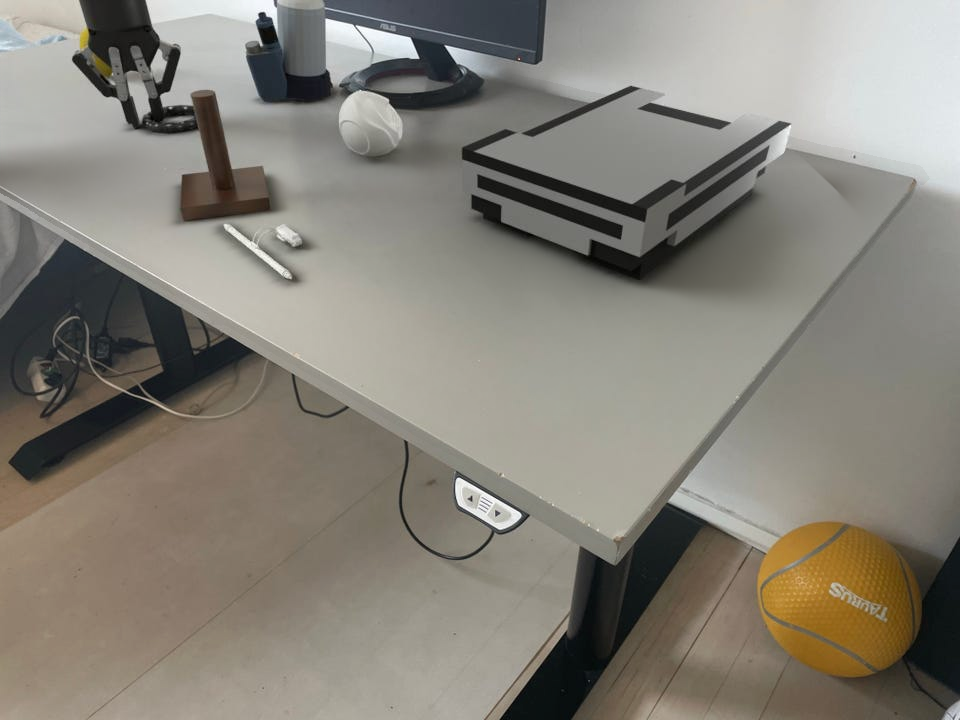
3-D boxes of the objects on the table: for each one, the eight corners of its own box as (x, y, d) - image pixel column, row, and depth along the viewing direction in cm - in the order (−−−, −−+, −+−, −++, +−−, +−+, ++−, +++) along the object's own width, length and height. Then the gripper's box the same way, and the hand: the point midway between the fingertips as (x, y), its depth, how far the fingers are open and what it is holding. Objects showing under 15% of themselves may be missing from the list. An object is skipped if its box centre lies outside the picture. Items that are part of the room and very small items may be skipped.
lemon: (119, 70, 118) (104, 18, 113) (131, 78, 115) (116, 24, 110) (84, 76, 115) (67, 23, 110) (95, 84, 112) (78, 30, 107)
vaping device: (294, 98, 106) (270, 16, 97) (259, 103, 106) (231, 21, 97) (295, 89, 108) (271, 8, 98) (260, 94, 107) (233, 13, 98)
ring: (141, 136, 95) (139, 127, 94) (145, 115, 101) (143, 107, 100) (208, 130, 97) (206, 121, 96) (207, 110, 103) (205, 101, 102)
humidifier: (341, 90, 111) (341, -99, 96) (312, 104, 105) (307, -96, 89) (295, 78, 113) (289, -110, 97) (264, 91, 106) (252, -107, 91)
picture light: (221, 228, 74) (217, 210, 73) (260, 216, 76) (256, 198, 75) (288, 283, 66) (284, 262, 64) (329, 267, 68) (326, 247, 67)
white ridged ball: (398, 167, 87) (393, 103, 82) (336, 166, 87) (328, 101, 82) (407, 143, 93) (403, 82, 88) (349, 141, 93) (343, 81, 89)
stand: (183, 221, 75) (153, 111, 68) (184, 186, 82) (158, 84, 75) (270, 210, 78) (250, 103, 70) (265, 177, 84) (246, 76, 77)
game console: (775, 182, 84) (795, 112, 79) (633, 292, 65) (647, 209, 60) (623, 139, 95) (631, 75, 90) (462, 223, 75) (461, 147, 70)
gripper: (169, -24, 92) (200, 111, 102) (51, -19, 89) (95, 120, 99) (167, -13, 86) (200, 129, 97) (40, -7, 83) (89, 140, 93)
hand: (147, 124), depth 98 cm, fingers closed
